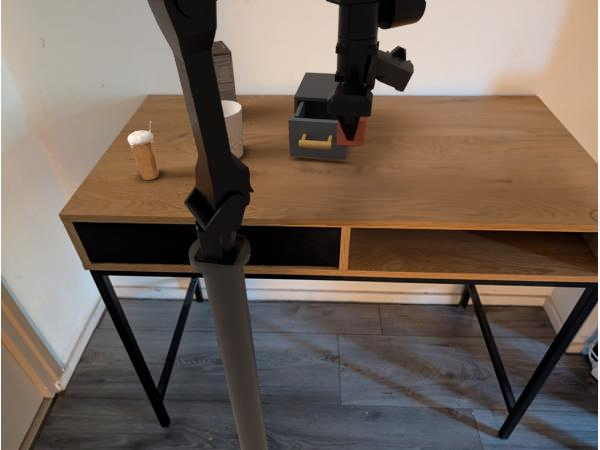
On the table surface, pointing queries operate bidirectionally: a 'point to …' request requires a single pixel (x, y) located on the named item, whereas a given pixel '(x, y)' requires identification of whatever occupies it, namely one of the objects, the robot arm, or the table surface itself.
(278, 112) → the table surface
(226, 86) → the coffee box
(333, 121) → the drawer
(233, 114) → the white cup
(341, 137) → the block
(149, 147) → the milkshake
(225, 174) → the robot arm
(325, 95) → the cabinet
